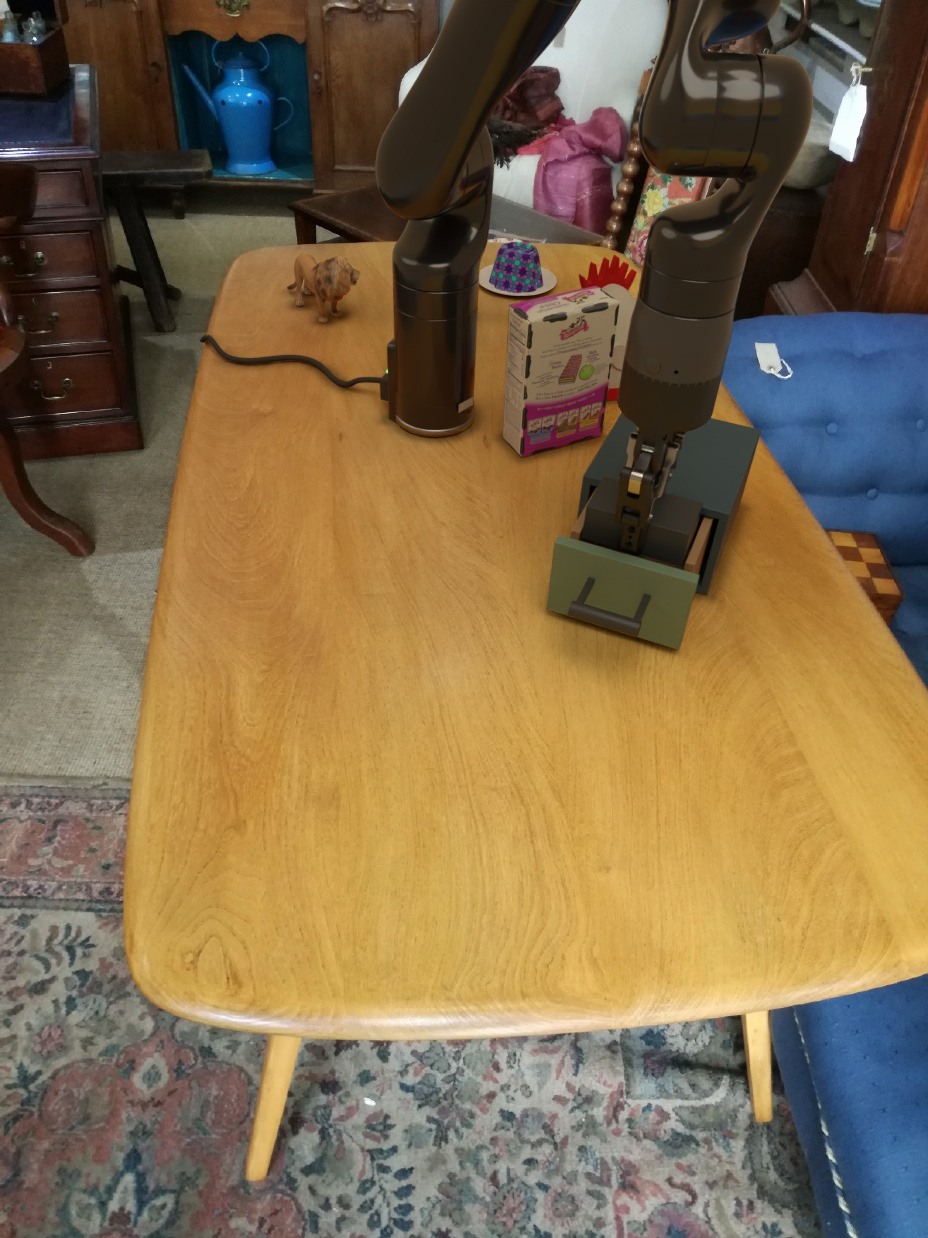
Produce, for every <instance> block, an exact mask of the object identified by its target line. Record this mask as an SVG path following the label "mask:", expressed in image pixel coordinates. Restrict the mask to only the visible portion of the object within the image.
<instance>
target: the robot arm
mask: <svg viewBox="0 0 928 1238" xmlns="http://www.w3.org/2000/svg"><path fill="white" fill-rule="evenodd" d="M581 1H582V0H453V2H452V5H451V7H450V9H449V12H448V13H447V16H446V18H445V20H444V23H443V25H442V27H441V30H440V32H439V34H438V37H437V39H436V41H435V43H434V45H433V48H432V49H431V52H430V54H429V55H428V58H427V59H426V61H425V63H424V65H423V66H422V68H421V70H420V72H419V73H418V75H417V77H416V79H415V81H414V82H413V84H412V85H411V87H410V88H409V90H408V92H407V93H406V95H405V97H404V99H403V100H402V101H401V103H400V105H399V106H398V108H397V110H396V112H395V113H394V114H393V116H392V118H391V120H390V121H389V123H388V124H387V126H386V127H385V129H384V132H383V133H382V135H381V137H380V140H379V143H378V147H377V149H376V153H375V160H374V161H375V163H374V173H375V180H376V186H377V189H378V192H379V195H380V197H381V199H382V200H383V202H384V204H385V205H386V207H387V208H388V209H389V210H390V211H391V212H392V213H394V214H395V215H396V216H398V217H400V218H403V219H405V220H407V223H406V225H405V227H404V229H403V230H402V233H401V235H400V236H399V238H398V239H397V241H396V243H395V245H394V247H393V250H392V255H391V256H392V257H391V259H392V260H391V263H392V264H391V265H392V266H391V267H392V268H391V269H392V303H393V304H392V305H393V306H392V309H393V338H392V339H391V340H390V341H389V342H388V343H387V344H386V363H387V364H386V365H387V366H386V368H387V369H386V372H385V373H384V374H383V375H382V376H381V377H380V376H378V377H377V376H357V377H354V378H353V379H350V380H347V381H346V380H344V379H343V380H342V379H340V378H338V377H336V376H335V375H334V373H333V372H331V370H329V369H328V368H327V367H326V366H325V365H324V364H323V363H322V362H321V361H319V360H317V359H315V358H313V357H310V356H305V355H299V354H278V355H276V354H275V355H267V356H257V357H243V356H242V357H240V356H235V355H232V354H229V353H227V352H226V351H224V350H223V348H221V347H220V345H219V343H218V342H217V340H216V339H215V338H214V337H213V336H212V335H210V334H204V335H203V336H202V337H200V339H199V342H200V343H206V342H209V343H210V345H211V346H212V348H213V349H214V350H215V352H216V353H217V354H218V355H219V356H221V357H222V358H223V359H225V360H227V361H229V362H231V363H237V364H244V365H245V364H251V365H252V364H264V363H273V362H274V363H275V362H284V361H285V362H286V361H295V362H303V363H307V364H310V365H312V366H315V367H316V368H318V369H319V370H320V371H321V372H322V373H323V374H324V375H325V376H326V377H327V378H328V379H329V380H330V381H331V382H333V383H335V384H336V385H337V386H340V387H343V388H350V387H353V386H355V385H358V384H364V383H365V384H366V383H367V384H369V383H370V384H379V397H380V401H384V402H388V403H387V404H388V405H387V406H388V419H389V420H390V421H394V422H396V423H397V424H398V426H399V427H400V428H401V429H403V430H405V431H406V432H409V433H411V434H413V435H418V436H421V437H429V438H441V437H449V436H453V435H457V434H459V433H462V432H463V431H465V430H467V429H468V428H469V427H470V426H471V425H472V424H473V422H474V420H475V408H474V407H475V386H476V385H475V383H476V382H475V381H476V363H477V362H476V360H477V338H478V337H477V334H478V315H479V314H478V313H479V292H480V291H479V289H480V287H479V286H480V284H479V271H480V270H481V268H480V267H481V261H482V258H483V256H484V254H485V251H486V248H487V244H488V241H489V235H490V225H491V215H492V203H493V192H494V191H493V190H494V179H495V178H494V177H495V153H494V146H493V141H492V138H491V134H490V132H489V131H490V130H489V129H488V127H487V123H488V121H489V120H490V117H491V116H492V114H494V113H493V112H495V110H496V108H497V107H498V105H499V104H500V103H501V101H502V100H503V99H504V98H505V96H506V95H508V93H509V91H511V89H512V88H513V87H514V86H515V85H516V84H517V82H518V81H520V79H521V78H522V77H523V76H524V75H525V74H526V72H527V71H528V70H529V69H530V68H531V67H532V66H533V65H534V64H535V62H537V60H538V59H539V58H540V57H541V55H542V54H543V53H544V52H545V51H546V50H547V49H548V48H549V46H550V45H551V44H552V43H553V41H554V40H555V39H556V37H557V36H558V35H559V34H560V33H561V31H562V30H563V29H564V27H565V26H566V24H567V23H568V22H569V20H570V19H571V18H572V16H573V14H574V13H575V11H576V10H577V8H578V7H579V5H580V3H581ZM781 3H782V0H668V5H667V13H666V18H665V24H664V29H663V33H662V37H661V42H660V46H659V50H658V53H657V57H656V60H655V62H654V65H653V68H652V72H651V74H650V77H649V80H648V84H647V87H646V90H645V93H644V95H643V100H642V103H641V108H640V111H639V116H638V126H637V136H638V137H637V138H638V144H639V148H640V151H641V152H642V155H643V157H644V159H645V161H646V162H647V164H648V165H649V166H650V168H652V169H653V170H654V171H655V172H656V173H658V174H660V175H663V176H667V177H678V178H704V179H705V178H706V179H707V178H708V179H709V178H710V179H726V180H725V182H724V183H723V184H722V185H721V186H720V188H718V190H717V191H716V192H714V193H713V194H712V195H710V196H707V197H705V198H703V199H698V200H694V201H690V202H686V203H681V204H678V205H675V206H670V207H668V208H666V209H664V210H662V211H661V212H659V213H657V214H656V216H655V217H654V218H653V220H652V222H651V224H650V226H649V230H648V232H647V233H648V234H647V237H646V238H647V239H646V244H645V249H644V256H643V261H642V268H641V273H640V280H639V285H638V291H637V297H636V303H635V307H634V310H633V313H632V316H631V320H630V325H629V330H628V336H627V343H626V349H625V355H624V361H623V367H622V373H621V379H620V385H619V391H618V397H617V400H616V401H617V406H618V409H619V411H620V413H623V415H624V416H625V417H626V418H628V419H629V420H631V421H632V422H633V423H634V424H635V425H636V426H637V433H634V432H632V433H631V436H630V439H629V442H628V446H627V454H628V459H627V463H626V466H624V467H623V469H622V470H621V471H620V474H619V476H620V481H619V489H618V498H617V507H616V513H615V521H616V522H619V523H621V527H620V532H619V538H618V543H617V548H618V549H619V550H620V551H622V552H625V553H629V554H632V555H636V556H638V555H641V553H642V551H643V549H644V545H645V541H646V536H647V531H648V527H649V522H650V520H652V518H653V514H652V513H653V509H654V505H655V501H656V498H659V497H661V495H662V494H663V493H664V492H665V491H666V487H667V482H669V480H670V479H672V476H673V473H672V469H675V468H676V466H677V464H678V461H679V459H680V456H681V449H682V447H683V444H684V442H685V439H686V436H687V431H691V430H694V429H697V428H699V427H701V426H703V425H704V424H706V423H707V422H708V421H709V419H710V418H712V416H713V414H714V410H715V405H716V401H717V397H718V394H719V390H720V386H721V381H722V376H723V373H724V368H725V366H726V365H725V364H726V362H727V361H726V360H727V358H728V357H727V356H728V352H729V350H730V349H729V348H730V345H731V341H732V336H733V328H734V317H735V311H736V304H737V301H738V296H739V293H740V292H739V291H740V288H741V285H742V280H743V276H744V272H745V268H746V264H747V261H748V256H749V253H750V250H751V248H752V245H753V243H754V240H755V238H756V236H757V234H758V232H759V230H760V228H761V225H762V224H763V222H764V220H765V217H766V215H767V213H768V211H769V210H770V208H771V205H772V204H773V202H774V200H775V198H776V197H777V194H778V193H779V192H780V189H781V188H782V186H783V184H784V183H785V180H786V178H787V177H788V175H789V173H790V172H791V170H792V168H793V166H794V164H795V163H796V161H797V158H798V157H799V155H800V152H801V150H802V148H803V146H804V144H805V141H806V138H807V136H808V134H809V130H810V127H811V123H812V118H813V112H814V91H813V89H814V88H813V85H812V81H811V77H810V76H809V75H810V74H809V73H808V71H807V69H806V67H805V66H804V65H803V63H802V62H800V61H799V60H798V59H796V58H795V57H792V56H788V55H784V54H776V53H775V54H773V53H742V52H741V53H740V52H739V53H737V52H720V51H718V52H717V51H705V50H706V49H709V48H711V47H715V46H719V45H722V44H727V43H732V42H735V41H738V40H741V39H745V38H747V37H751V36H752V35H754V34H755V33H758V32H759V31H760V30H762V29H764V28H765V27H766V26H767V25H768V24H769V23H771V22H772V20H773V19H774V17H775V16H776V14H777V13H778V10H779V9H780V7H781ZM207 335H208V336H207Z"/></svg>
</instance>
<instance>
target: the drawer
mask: <svg viewBox="0 0 928 1238" xmlns="http://www.w3.org/2000/svg"><path fill="white" fill-rule="evenodd" d="M596 489H597V487H596ZM596 489H595V490H594V492H595V491H596ZM594 492H593V494H594ZM593 494H592V496H593ZM592 496H591V497H590V499H591V498H592ZM590 499H589V501H590ZM589 501H588V503H589ZM588 503H587V504H588ZM587 504H586V506H587ZM586 506H585V508H584V509H583V511H582V513H581V515H580V516H579V518H578V520H577V519H576V522H575V523H574V525H573V527H572V529H571V530H570V537H568V536H565V535H561V534H559V535H558V536H557V537H556V540H555V541H554V546H553V554H552V559H551V569H550V577H549V585H548V593H547V601H546V610H547V611H551V612H555V613H558V614H561V615H565V616H567V617H569V618H572V619H576V620H579V621H583V622H585V623H589V624H592V625H595V626H598V627H601V628H605V629H608V630H611V631H615V632H618V633H621V634H624V635H628V636H631V637H634V638H639V639H642V640H646V641H648V642H652V643H655V644H658V645H662V646H665V647H668V648H671V649H675V650H678V651H679V650H680V648H681V645H682V642H683V639H684V636H685V635H684V634H685V632H686V628H687V624H688V620H689V618H690V617H689V616H690V613H691V610H692V606H693V603H694V598H695V594H696V592H695V591H696V587H697V584H698V580H699V576H700V575H699V573H700V571H701V568H702V565H703V563H704V560H705V558H706V555H707V552H708V549H709V545H710V542H711V538H712V534H713V531H714V527H715V523H716V520H717V518H713V517H709V516H706V515H702V514H700V517H699V521H698V525H697V529H696V533H695V536H694V538H693V540H692V543H691V545H690V548H689V550H688V553H687V555H686V557H685V560H684V562H683V565H682V566H678V565H675V564H671V563H668V562H664V561H661V560H657V559H654V558H650V557H647V556H643V555H638V556H636V555H632V554H629V553H625V552H622V551H620V550H619V549H618V548H615V547H612V546H608V545H605V544H601V543H598V542H594V541H591V540H587V539H584V538H582V532H583V526H584V519H585V513H586Z"/></svg>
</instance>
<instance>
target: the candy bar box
mask: <svg viewBox="0 0 928 1238" xmlns="http://www.w3.org/2000/svg"><path fill="white" fill-rule="evenodd" d="M619 304H620V302H619V301H618V300H616V299H615V298H613V297H612V296H610V295H609V294H608V293H606V292H605V291H602V289H601V288H599V287H597V286H593V287H588V288H583V289H582V288H578V289H573V290H569V291H565V292H564V291H563V292H559V293H556V294H551V295H545V296H541V297H536V298H531V299H528V300H523V301H518V302H514V303H509V304H508V315H507V316H508V319H507V321H508V322H507V342H506V357H505V358H506V359H505V380H504V398H503V399H504V400H503V416H502V418H503V420H502V439H503V440H504V441H505V443H506V444H507V445H509V446H510V447H511V448H512V449H513V451H514V452H516V454H517V455H519V456H520V458H526V457H530V456H533V455H537V454H540V453H544V452H548V451H551V450H554V449H555V450H556V449H559V448H562V447H565V446H569V445H573V444H577V443H580V442H584V441H587V440H590V439H593V438H597V437H601V436H603V429H604V424H605V414H606V409H607V394H608V385H609V378H610V369H611V364H612V356H613V349H614V342H615V333H616V326H617V319H618V312H619Z"/></svg>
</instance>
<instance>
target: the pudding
mask: <svg viewBox="0 0 928 1238" xmlns="http://www.w3.org/2000/svg"><path fill="white" fill-rule="evenodd" d="M494 259H495V260H494V262H493V263H492V264H489V265H486V266H484V267H482V268H480V271H479V286H482V287H483V288H485V289H486V290H489V291H491V292H493V293H497V294H501V295H506V296H514V297H515V296H517V297H525V296H526V297H527V296H535V295H540V294H543V293H546V292H548V291H550V290H552V289H554V287H556V285H557V282H558V281H557V277H556V275H555V274H554V273H553V272H552V271H550V270H549V269H547V268H545V267H543V266H541V258H540V254H539V250H538V249H537V247H536V246H535V245H533V244H530V243H528V242H525V241H521V242H519V241H510V242H506V243H503V244H501V246H499V248H498V250H497V253H496V256H495V258H494Z"/></svg>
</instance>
